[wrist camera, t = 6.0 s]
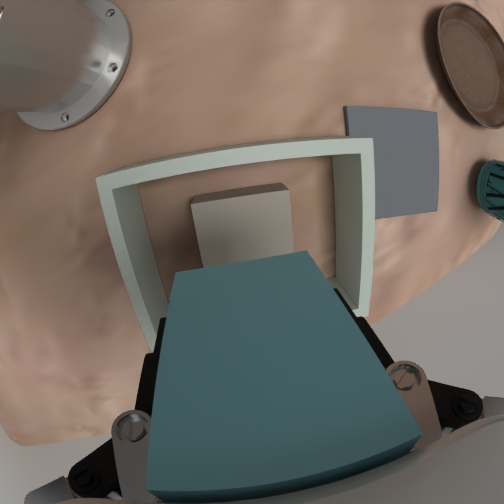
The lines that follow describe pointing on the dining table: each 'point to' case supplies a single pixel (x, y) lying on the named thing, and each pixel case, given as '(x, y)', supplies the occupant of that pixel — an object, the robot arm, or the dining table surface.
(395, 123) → the mat
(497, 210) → the beverage bottle
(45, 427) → the dining table surface
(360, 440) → the block
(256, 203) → the frame
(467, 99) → the saucer
